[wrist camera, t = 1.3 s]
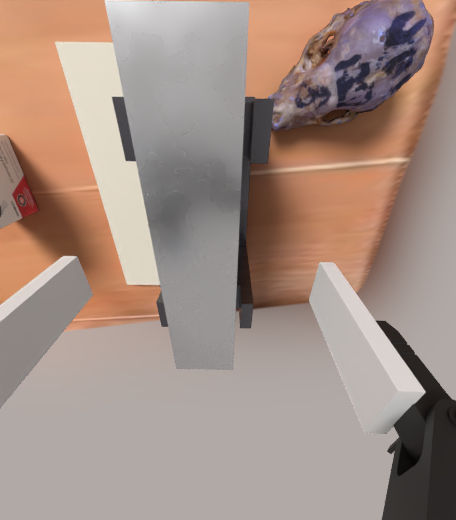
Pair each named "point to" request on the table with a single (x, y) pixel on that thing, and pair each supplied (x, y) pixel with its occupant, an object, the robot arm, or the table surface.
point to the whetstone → (188, 158)
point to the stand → (253, 152)
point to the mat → (110, 154)
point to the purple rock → (354, 63)
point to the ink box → (13, 187)
